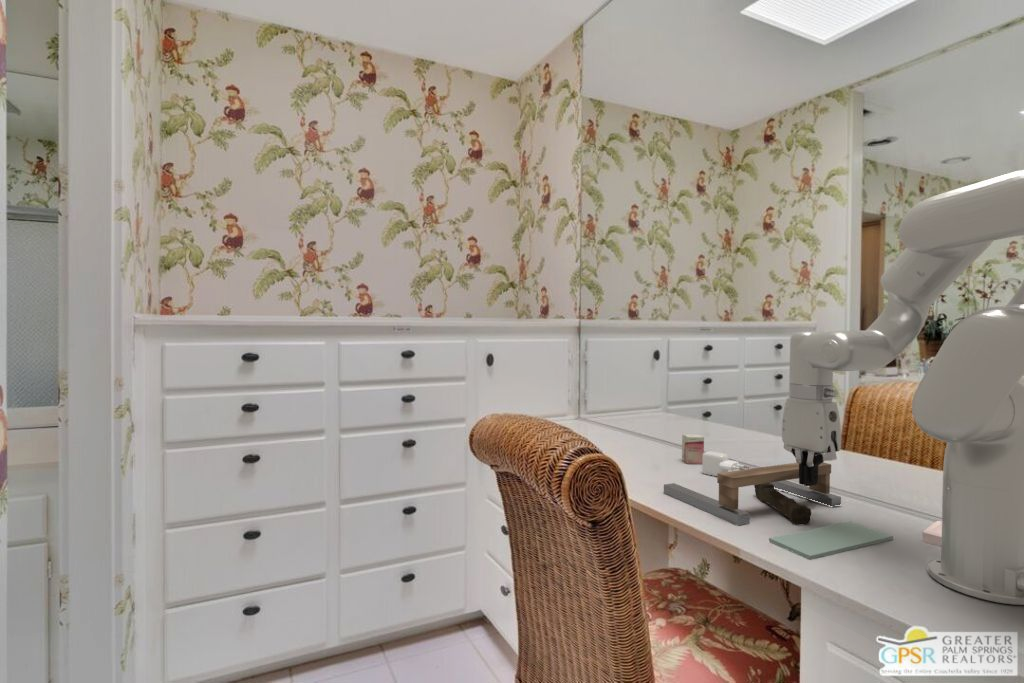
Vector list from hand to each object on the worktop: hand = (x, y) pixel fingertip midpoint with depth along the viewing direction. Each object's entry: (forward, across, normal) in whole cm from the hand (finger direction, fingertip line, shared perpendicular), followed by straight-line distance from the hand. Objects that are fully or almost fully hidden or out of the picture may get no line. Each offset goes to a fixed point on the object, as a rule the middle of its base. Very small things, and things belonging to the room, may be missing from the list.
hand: (808, 484), depth 104 cm
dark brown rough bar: (+8, +8, 0) cm, 11 cm away
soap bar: (+8, -17, -15) cm, 24 cm away
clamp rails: (+7, +14, 0) cm, 16 cm away
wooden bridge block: (+5, +7, 0) cm, 9 cm away
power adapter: (+8, +30, -9) cm, 33 cm away
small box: (+8, +45, -12) cm, 48 cm away
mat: (+7, -9, +5) cm, 12 cm away
